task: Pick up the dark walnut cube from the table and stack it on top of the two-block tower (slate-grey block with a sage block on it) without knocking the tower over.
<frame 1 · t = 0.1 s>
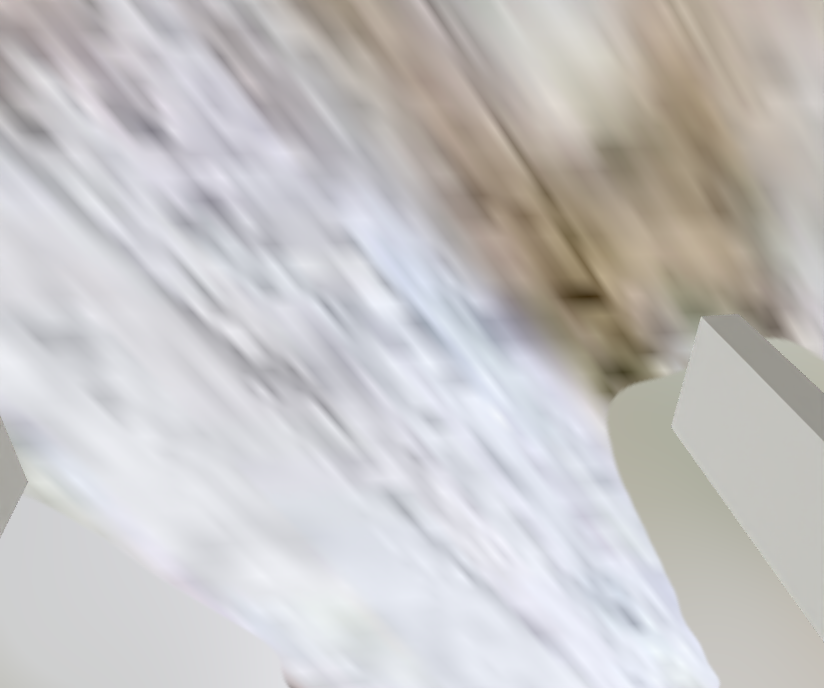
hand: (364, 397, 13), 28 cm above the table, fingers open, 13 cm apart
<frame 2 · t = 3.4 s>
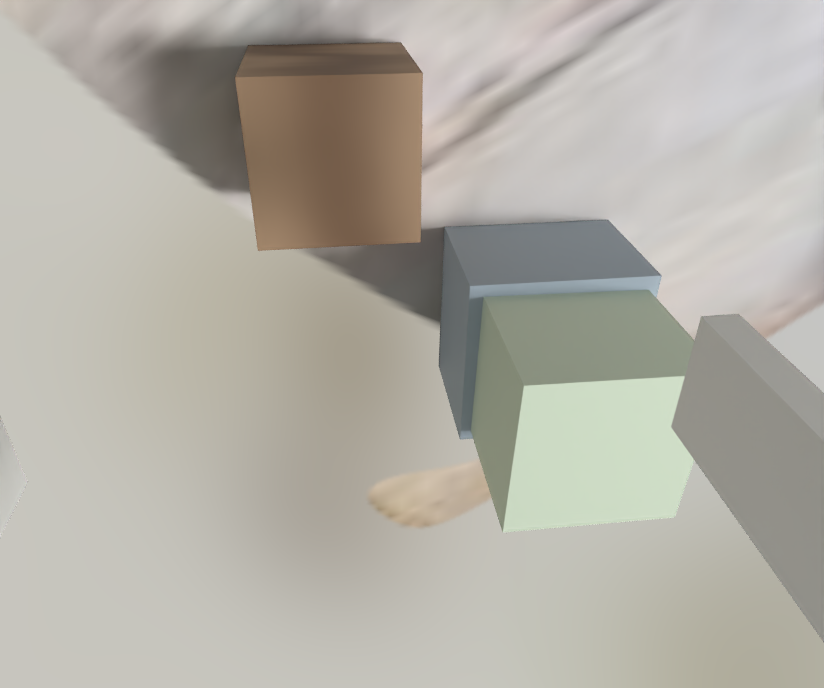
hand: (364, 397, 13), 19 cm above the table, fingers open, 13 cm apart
slate block: (518, 295, 34), on the table, touching sage block
walnut block: (330, 120, 28), on the table
sage block: (555, 363, 29), point 6 cm above the table, touching slate block
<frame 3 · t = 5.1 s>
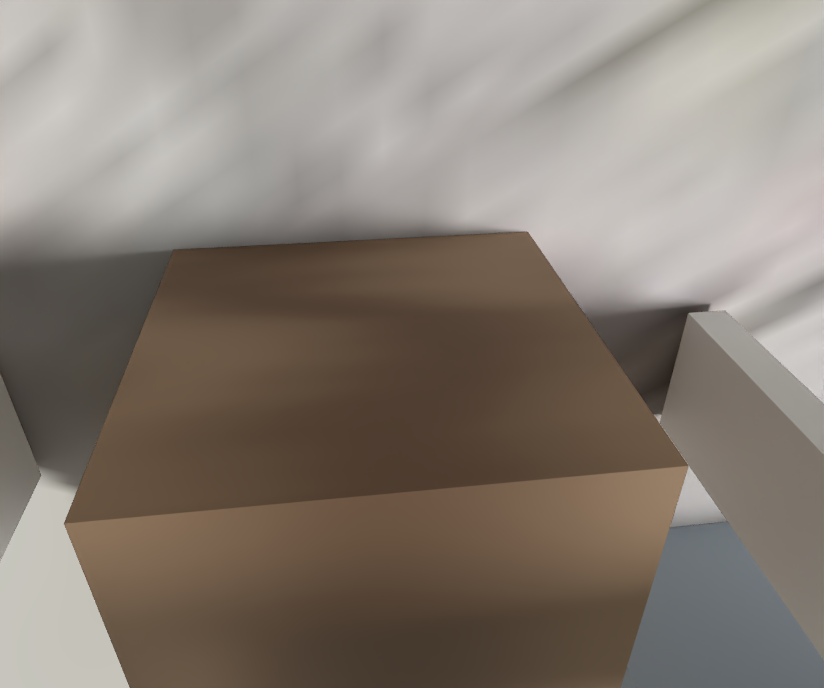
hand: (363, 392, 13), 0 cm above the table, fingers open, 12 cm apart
slate block: (689, 616, 19), on the table, touching sage block
walnut block: (362, 381, 13), on the table
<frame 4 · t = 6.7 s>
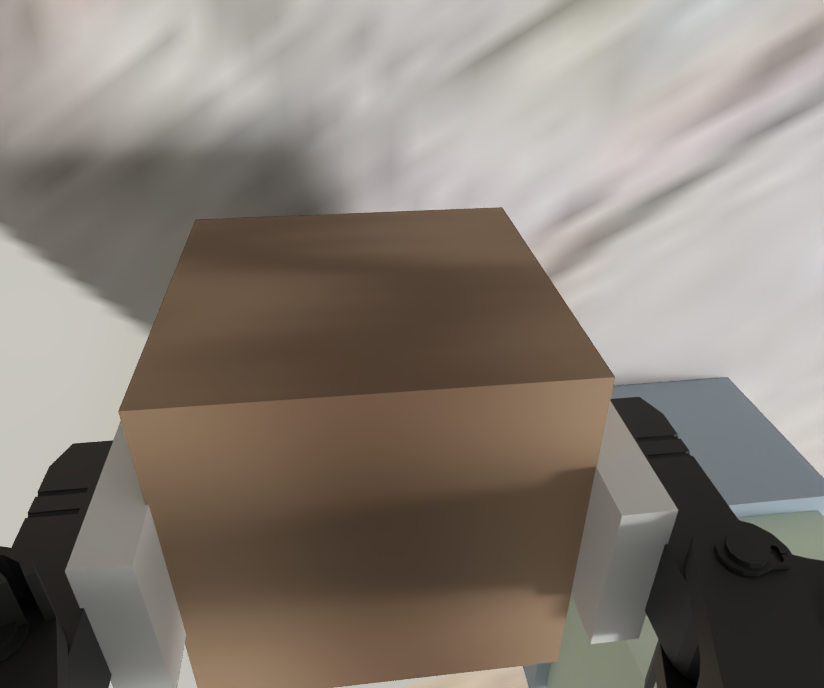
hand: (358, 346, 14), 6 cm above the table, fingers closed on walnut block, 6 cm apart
slate block: (600, 471, 25), on the table, touching sage block
walnut block: (358, 343, 15), point 5 cm above the table, touching gripper
sage block: (673, 604, 20), point 6 cm above the table, touching slate block
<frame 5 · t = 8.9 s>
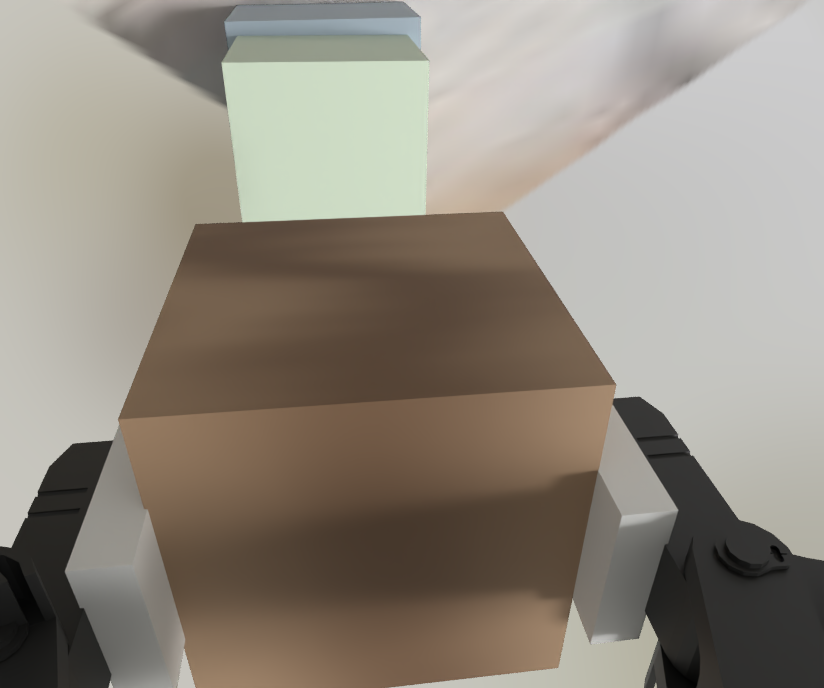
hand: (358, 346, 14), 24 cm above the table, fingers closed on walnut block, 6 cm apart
slate block: (327, 89, 35), on the table, touching sage block
walnut block: (358, 347, 15), point 24 cm above the table, touching gripper
sage block: (328, 121, 30), point 6 cm above the table, touching slate block
when the fingers open (13 cm above the table, at t = 11.5 s): walnut block stays where it is, resting on sage block.
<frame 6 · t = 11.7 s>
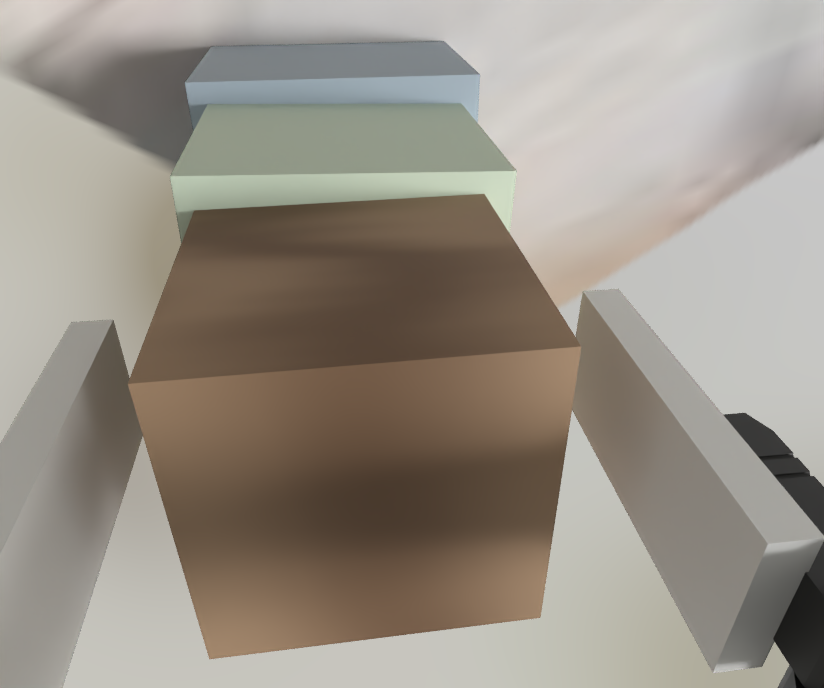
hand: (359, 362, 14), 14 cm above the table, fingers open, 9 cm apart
slate block: (336, 157, 25), on the table, touching sage block
walnut block: (351, 325, 15), point 12 cm above the table, touching sage block
sage block: (341, 222, 20), point 6 cm above the table, touching slate block, walnut block
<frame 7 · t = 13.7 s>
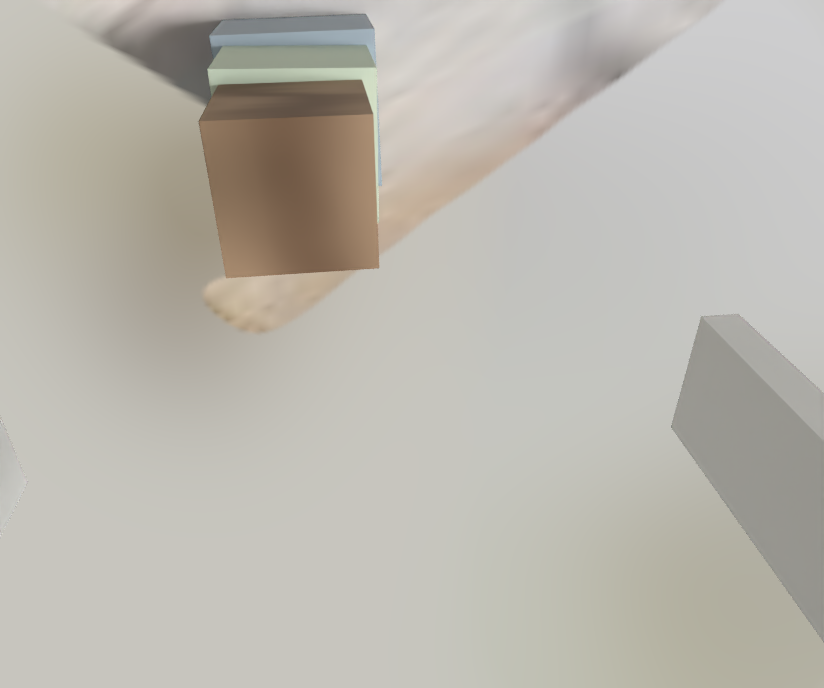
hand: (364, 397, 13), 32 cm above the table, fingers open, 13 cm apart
slate block: (302, 91, 40), on the table, touching sage block
walnut block: (297, 152, 30), point 12 cm above the table, touching sage block
sage block: (300, 118, 35), point 6 cm above the table, touching slate block, walnut block
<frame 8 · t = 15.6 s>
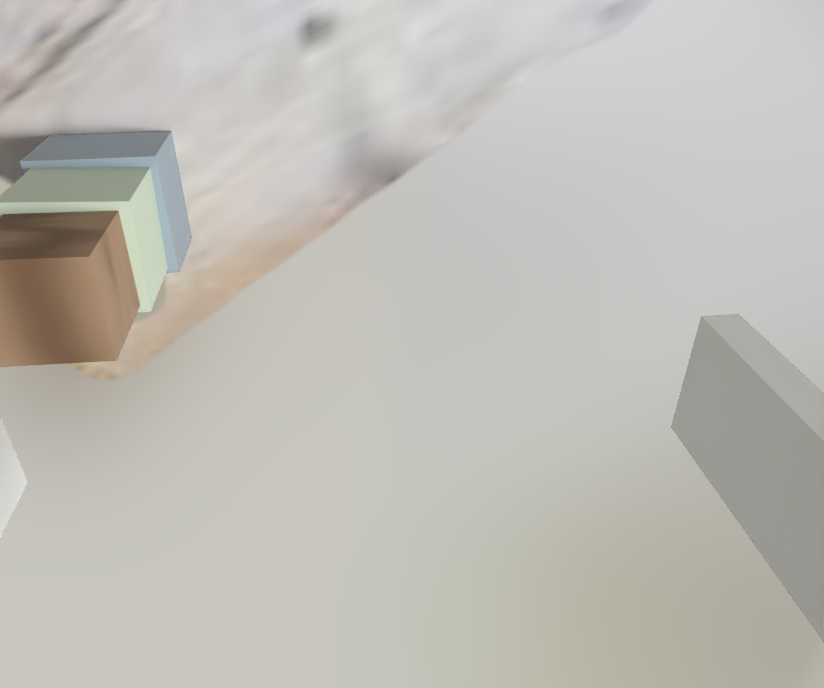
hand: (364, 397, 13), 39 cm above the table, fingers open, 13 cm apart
slate block: (125, 188, 48), on the table, touching sage block
walnut block: (75, 261, 38), point 12 cm above the table
sage block: (103, 220, 43), point 6 cm above the table, touching slate block
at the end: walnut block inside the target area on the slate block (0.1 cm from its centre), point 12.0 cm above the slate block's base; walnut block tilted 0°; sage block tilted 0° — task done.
